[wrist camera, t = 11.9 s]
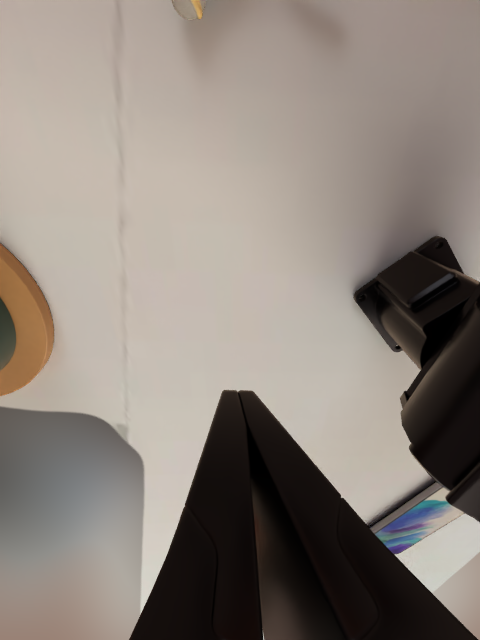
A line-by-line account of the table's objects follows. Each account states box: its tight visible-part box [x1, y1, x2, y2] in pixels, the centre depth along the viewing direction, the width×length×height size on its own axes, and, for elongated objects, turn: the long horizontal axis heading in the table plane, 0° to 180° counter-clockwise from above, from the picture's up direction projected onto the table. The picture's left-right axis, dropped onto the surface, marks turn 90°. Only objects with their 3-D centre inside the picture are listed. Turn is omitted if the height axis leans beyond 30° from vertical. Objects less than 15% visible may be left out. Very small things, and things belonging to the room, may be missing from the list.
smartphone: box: [370, 482, 465, 554], centre depth 35 cm, size 7×1×15 cm
